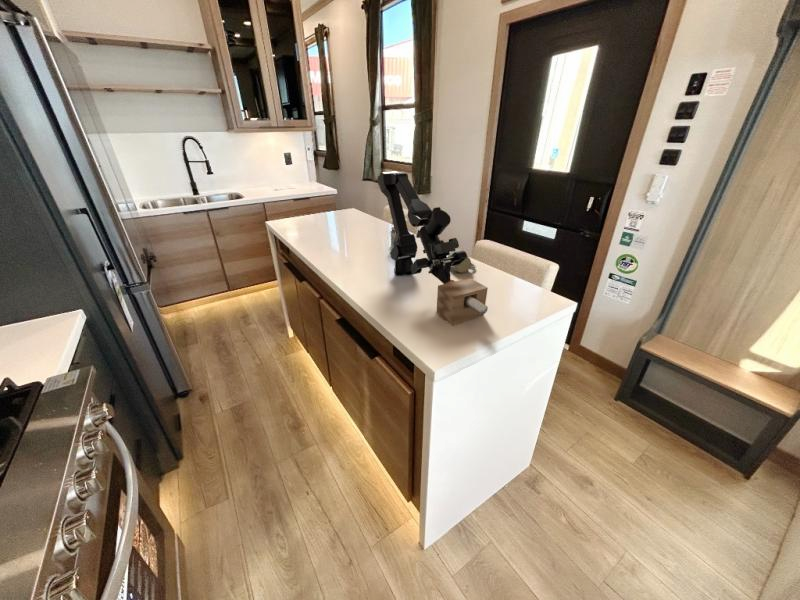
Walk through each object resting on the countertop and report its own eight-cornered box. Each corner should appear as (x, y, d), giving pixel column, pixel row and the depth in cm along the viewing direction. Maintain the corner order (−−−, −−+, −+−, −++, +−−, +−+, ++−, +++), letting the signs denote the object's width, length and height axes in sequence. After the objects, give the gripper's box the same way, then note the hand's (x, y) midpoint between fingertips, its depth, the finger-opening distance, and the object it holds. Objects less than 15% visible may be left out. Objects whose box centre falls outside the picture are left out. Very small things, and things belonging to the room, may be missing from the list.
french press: (393, 253, 147) (392, 197, 135) (384, 245, 157) (383, 192, 145) (412, 250, 151) (413, 195, 139) (402, 243, 160) (402, 191, 148)
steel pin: (442, 296, 100) (443, 281, 98) (455, 293, 102) (456, 278, 100) (475, 320, 88) (477, 304, 85) (489, 316, 90) (492, 299, 87)
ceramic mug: (454, 274, 125) (456, 256, 121) (446, 267, 132) (448, 249, 128) (478, 272, 128) (481, 254, 124) (469, 265, 135) (472, 247, 131)
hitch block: (436, 313, 99) (437, 285, 94) (467, 304, 104) (470, 277, 99) (451, 325, 93) (454, 296, 88) (483, 315, 97) (487, 287, 93)
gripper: (415, 233, 93) (434, 282, 89) (467, 225, 100) (486, 270, 97) (402, 251, 102) (419, 296, 99) (450, 243, 110) (467, 284, 107)
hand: (448, 286), depth 100 cm, fingers closed, pressing on steel pin
